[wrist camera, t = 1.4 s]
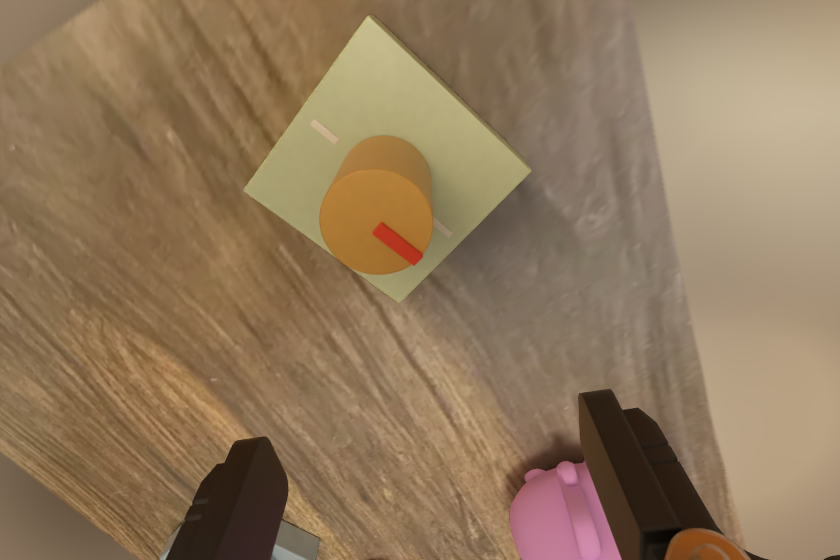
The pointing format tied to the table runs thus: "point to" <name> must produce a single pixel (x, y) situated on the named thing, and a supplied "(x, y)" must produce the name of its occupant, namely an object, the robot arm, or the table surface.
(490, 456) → the table surface
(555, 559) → the teapot
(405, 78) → the plate
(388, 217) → the lock knob
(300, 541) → the grey button base
